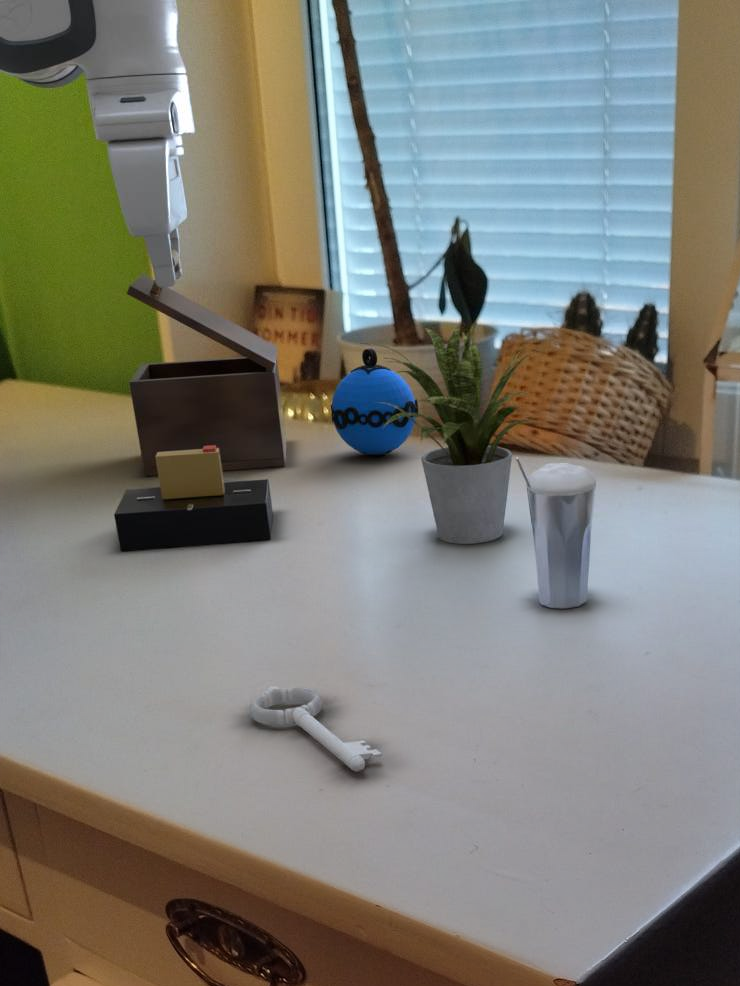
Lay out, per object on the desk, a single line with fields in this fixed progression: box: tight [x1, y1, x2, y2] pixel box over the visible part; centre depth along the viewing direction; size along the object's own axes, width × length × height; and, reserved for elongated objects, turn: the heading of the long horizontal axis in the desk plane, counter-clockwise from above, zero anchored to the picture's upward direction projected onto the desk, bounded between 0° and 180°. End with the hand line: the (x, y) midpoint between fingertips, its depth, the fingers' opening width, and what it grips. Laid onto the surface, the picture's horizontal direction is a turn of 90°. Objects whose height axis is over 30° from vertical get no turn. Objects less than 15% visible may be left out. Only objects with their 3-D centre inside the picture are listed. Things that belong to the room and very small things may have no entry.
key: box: [248, 686, 383, 773], centre depth 72 cm, size 12×1×4 cm
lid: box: [126, 248, 278, 371], centre depth 126 cm, size 14×11×5 cm
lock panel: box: [113, 478, 274, 552], centre depth 109 cm, size 12×9×3 cm
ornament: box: [330, 347, 419, 457], centre depth 129 cm, size 9×9×10 cm
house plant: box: [360, 318, 546, 545], centre depth 102 cm, size 14×14×16 cm
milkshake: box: [515, 457, 597, 610], centre depth 87 cm, size 4×5×10 cm
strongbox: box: [128, 355, 288, 477], centre depth 131 cm, size 14×11×9 cm
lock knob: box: [156, 445, 225, 500], centre depth 107 cm, size 5×2×4 cm, turn 96°
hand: (169, 282), depth 124 cm, fingers closed on lid, 5 cm apart
